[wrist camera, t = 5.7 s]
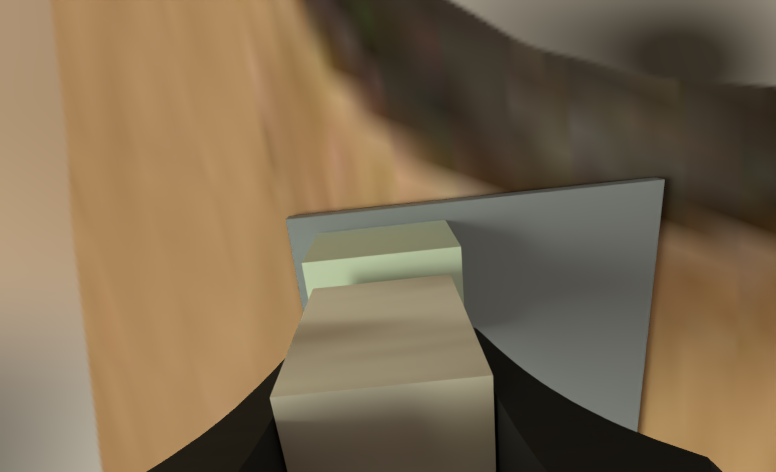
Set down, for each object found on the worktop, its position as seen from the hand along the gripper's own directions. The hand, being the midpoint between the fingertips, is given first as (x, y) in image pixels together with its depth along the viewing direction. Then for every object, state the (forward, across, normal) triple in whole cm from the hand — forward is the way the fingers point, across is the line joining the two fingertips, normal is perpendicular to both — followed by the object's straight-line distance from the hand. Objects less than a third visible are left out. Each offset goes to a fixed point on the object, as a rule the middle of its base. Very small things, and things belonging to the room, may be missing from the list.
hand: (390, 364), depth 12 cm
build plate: (+6, -4, +4) cm, 9 cm away
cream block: (+1, 0, 0) cm, 1 cm away
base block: (+6, 0, 0) cm, 6 cm away
